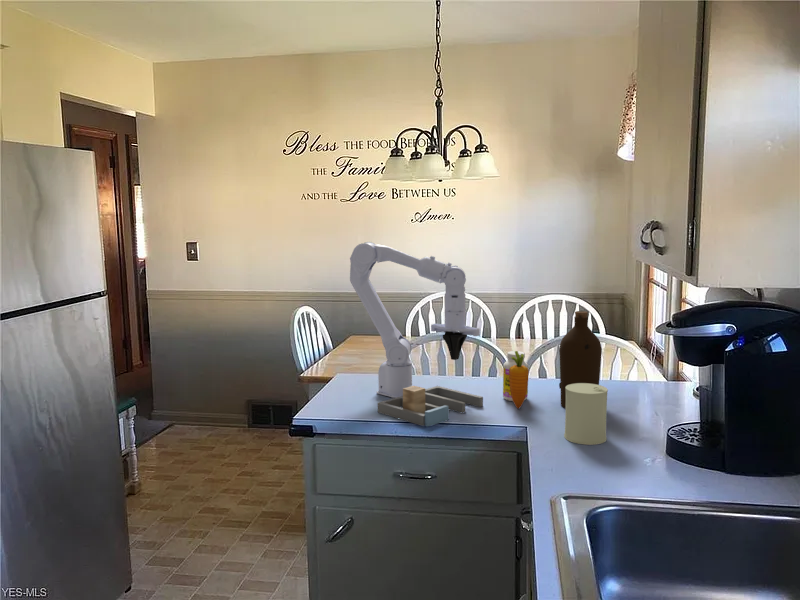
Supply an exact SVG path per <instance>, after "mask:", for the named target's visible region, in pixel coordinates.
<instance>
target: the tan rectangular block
mask: <svg viewBox="0 0 800 600" xmlns="http://www.w3.org/2000/svg"><path fill="white" fill-rule="evenodd" d="M425 389H426V388H425V387H421V386H417V385H412V386H411V387H407V388H403V408H404V409H408V410H411V411H415V412H418V413H422V414H425Z"/></svg>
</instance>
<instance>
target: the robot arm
mask: <svg viewBox="0 0 800 600" xmlns="http://www.w3.org/2000/svg"><path fill="white" fill-rule="evenodd" d="M349 260H350V265H349V267H350V270H349V281H350V284H351V286H352V287H353V289H354V292H355V293H356V295H357V296H358V298H359V300H360V302H361V303H362V305H363V307H364V309H365V311H366V312H367V315H368V316H369V317H370V319H371V322H372V323H373V325H374V327H375V328H376V330H377V333H378V334H379V336H380V338H381V339H380V340H381V342H382V345H383V348H384V350H385V357H386V361H383V362H382V363H381V364H380V365H379V367H378V373H377V374H378V377H377V378H378V380H377V381H378V390H377V391H376V394H378V395H382V396H386V397H389V398H391V399H393V398H396V397H400V396H403V388H407V387H411V386H413V361H412V360H411V359H410V354H411V352H412V343H411V342H410V340H408V339H407V338H406V337H404V336H403V335H402V333H401V331H400V330H399V329H398V328H397V327H396V325H395V323H394V321H393V320H392V318H391V316H390V314H389V313H388V311H387V308H386V307H385V305H384V304H383V302H382V300H381V298H380V296H379V295H378V293H377V291H376V289H375V287H374V285H373V284H372V282H371V281H370V276H371V273H372V270H373V267H374V266H375V264H376V263H384V262H391V263H392V262H393V263H395V264H398V265H401V266H404V267H407V268H410V269H413V270H415V271H416V272H417V273H418V276H419V277H421V278H424V279H427V280H430V281H433V282H436V283H438V284H444V285H445V292H444V323H432V324H430V331H431V332H437V333H438V332H440V333H444V334H442V339H443V340H444V342H445V344H446V346H447V348H448V351H449V356H450V359H451V360H453V361H456V360H459V359H460V354H461V350H462V348H463V346H464V343H465V341H466V340H467V336H473V337H478V336H480V335H481V332H480V331H481V330H480V327H473V326H468V325H466V293H465V292H466V286H465V284H466V281H467V279H466V273H465V271H464V270H463V269H462V268H461V267H460V266H458V265H453V264H452V263H451V262H447V263H446V262H444V261H441V260H438V259H436V256H433V255H430V256H424V257H422V258H418V257H416V256H413V255H411V254H408V253H406V252H404V251H401V250H399V249H396V248H394V247H391V246H389V245H383V244H379V243H374V242H372V241H366V242H364V243H358V245H356V246H355V247H354V248H353V250H352V253H351V255H350V257H349Z"/></svg>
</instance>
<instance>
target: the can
mask: <svg viewBox="0 0 800 600" xmlns="http://www.w3.org/2000/svg"><path fill="white" fill-rule="evenodd" d="M565 388H566V408H565V414H564V415H565V418H564V420H565V422H564V434H563V438H564V439H565V440H567V441H568V442H571V443H574V444H579V445H583V446H584V445H585V446H586V445H587V446H589V445H591V446H592V445H593V446H594V445H601V444H604V443H605V442H606V441H607V408H608V391H609V389H608V388H607V387H605V386H604V385H601V384H599V385H597V384H590V383H575V384H569V385H567V386H566V387H565Z"/></svg>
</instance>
